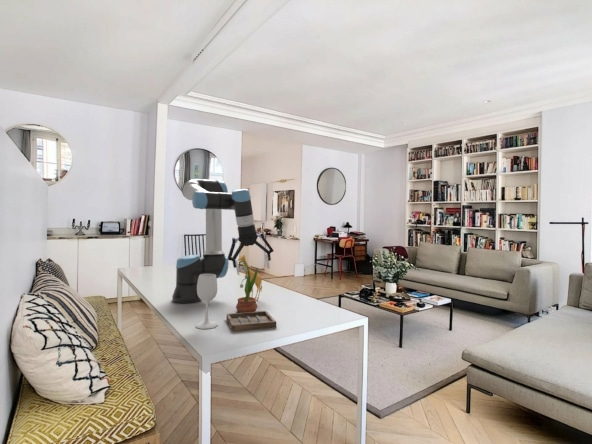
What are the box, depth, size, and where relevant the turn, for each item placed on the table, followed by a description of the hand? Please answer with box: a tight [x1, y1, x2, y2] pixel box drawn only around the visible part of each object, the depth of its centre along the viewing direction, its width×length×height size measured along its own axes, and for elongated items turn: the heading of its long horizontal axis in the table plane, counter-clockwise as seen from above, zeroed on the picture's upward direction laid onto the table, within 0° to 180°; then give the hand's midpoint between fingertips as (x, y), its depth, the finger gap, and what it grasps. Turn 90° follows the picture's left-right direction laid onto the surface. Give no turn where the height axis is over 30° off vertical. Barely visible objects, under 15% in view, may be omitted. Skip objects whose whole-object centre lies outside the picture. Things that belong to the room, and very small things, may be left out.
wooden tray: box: [225, 310, 277, 333], centre depth 143 cm, size 16×18×2 cm
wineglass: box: [195, 274, 218, 330], centre depth 138 cm, size 9×9×21 cm
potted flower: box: [235, 259, 259, 313], centre depth 160 cm, size 12×10×25 cm
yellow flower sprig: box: [237, 254, 263, 302], centre depth 178 cm, size 16×4×25 cm, turn 135°
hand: (253, 270), depth 150 cm, fingers open, 13 cm apart
